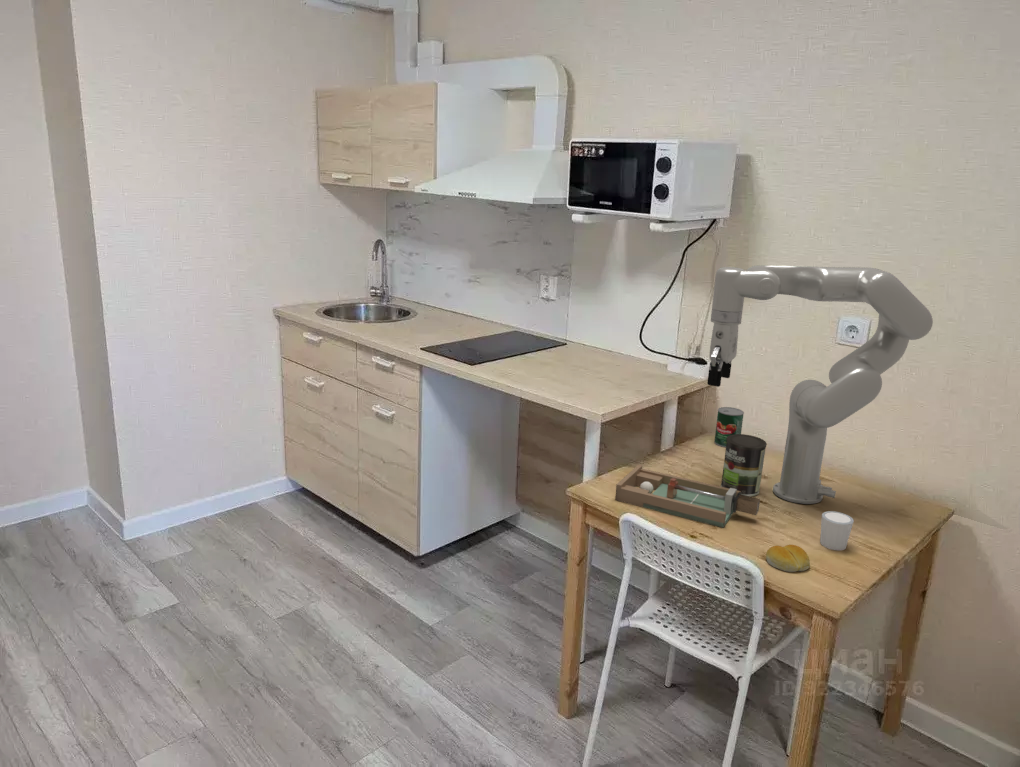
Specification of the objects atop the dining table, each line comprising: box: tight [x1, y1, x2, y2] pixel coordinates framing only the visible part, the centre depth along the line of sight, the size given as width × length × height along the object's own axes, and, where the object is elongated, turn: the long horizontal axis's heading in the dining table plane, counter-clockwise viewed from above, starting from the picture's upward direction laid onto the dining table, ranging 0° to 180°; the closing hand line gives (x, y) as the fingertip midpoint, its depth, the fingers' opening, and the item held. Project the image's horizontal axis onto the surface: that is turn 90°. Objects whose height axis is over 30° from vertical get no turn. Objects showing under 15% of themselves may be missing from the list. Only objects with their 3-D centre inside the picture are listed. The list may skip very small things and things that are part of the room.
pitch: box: [614, 464, 741, 529], centre depth 191 cm, size 28×16×6 cm, turn 60°
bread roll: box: [765, 544, 811, 573], centre depth 163 cm, size 8×9×4 cm
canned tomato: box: [714, 406, 745, 448], centre depth 234 cm, size 8×8×11 cm
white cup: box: [819, 510, 855, 551], centre depth 172 cm, size 7×7×7 cm
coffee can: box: [720, 433, 768, 497], centre depth 200 cm, size 10×10×14 cm
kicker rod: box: [667, 478, 761, 516], centre depth 187 cm, size 22×5×4 cm, turn 60°
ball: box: [639, 482, 654, 494], centre depth 196 cm, size 4×4×4 cm
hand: (718, 381), depth 193 cm, fingers open, 9 cm apart
